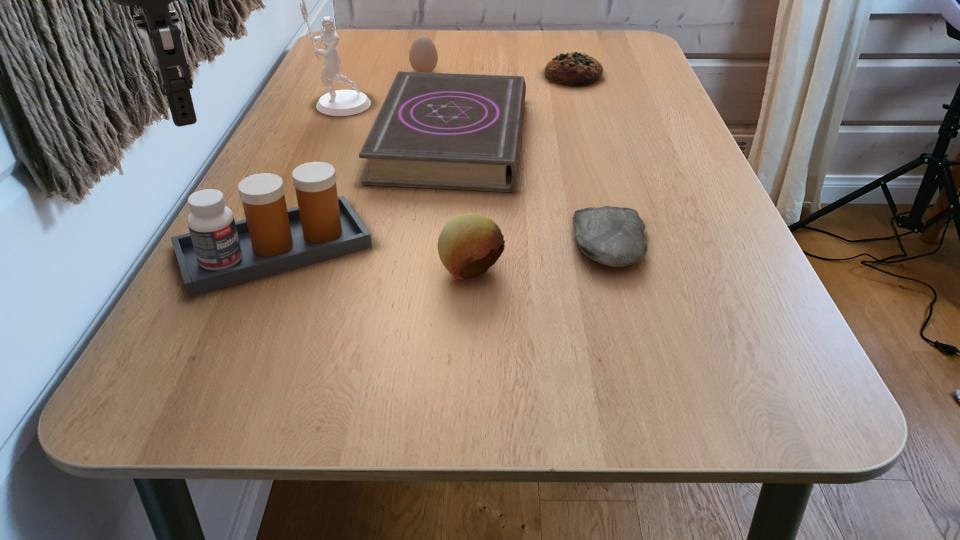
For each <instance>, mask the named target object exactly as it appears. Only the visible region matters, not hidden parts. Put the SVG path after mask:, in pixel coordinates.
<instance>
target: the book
mask: <svg viewBox="0 0 960 540" xmlns="http://www.w3.org/2000/svg"><path fill="white" fill-rule="evenodd" d="M526 93H527V83H526V80H525V77H524V76H522V75H503V74H501V75H500V74H499V75H498V74H475V73H473V74H472V73H451V72H450V73H448V72H431V73H427V72H416V71H401V70H400V71H399V70H398V71H397V72H396V75H395V76H394V79H393V81H392V83H391V85H390V87H389V90H388V92H387V94H386V96H385V98H384V100H383V102H382V105H381V107H380V109H379V111H378V113H377V115H376V117H375V120H374V121H373V123H372V126H371V128H370V130H369V133H368V134H367V136H366V139H365V141H364V143H363V144H362V147H361V149H360V151H359V154H358V159H366V160H367V162H368V166H367V168H366V171H365V173H364V175H363V178H362V180H361V185H362V186H380V187H402V188H417V189H418V188H419V189H420V188H421V189H439V190H441V189H442V190H457V191H458V190H461V191H478V192H480V191H481V192H497V193H499V192H501V193H514V191H515V189H516V185H517V181H518V173H519V172H518V171H519V163H520V154H521V153H520V152H521V144H522V134H523V123H524V115H525V106H526V105H525V104H526V95H527V94H526Z"/></svg>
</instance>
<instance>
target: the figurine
mask: <svg viewBox="0 0 960 540" xmlns="http://www.w3.org/2000/svg"><path fill="white" fill-rule="evenodd" d="M299 7H300V12H301V16H302V19H303V21H304V23H306V25H307V29H308V31H309V35H310V36H309V37H310V40H311V42H312V46H313V48H314V54H315V57H316V59H317V60H318V61H319V60H320V56H322V57H324V58H323V69H322V71H321V73H320V80H321V83H322V85H323V86H325V88H326V90H327V91H328V92H326V93H324V94H323V95H321V96H320V98H319V99H318V101H317V103H316V105H315V107H316V110H317V111H318V112H319V113H321V114H323V115H327V116H332V117H348V116H353V115H358V114H360V113H363V112H365V111H367V110H368V109H369V108H370V107H371V105H372V101H371V99H370V98H369V97H368V96H367V95H366V94H365V93H364V92H362V91H360V89H359V86H358V83H357V82H355V81H354V80H350V79H349V77H348V76H345V75H343V74H340V65H341V58H340V56H339V52H338V49H337V47H338V43H339V41H340V36H339V34H338V32H337V31H336V28H335V27H336V26H335V19H334V18H332V17H331V16H330V15H328V16H327V15H325V16H323V19H322V18H321V20H320V21H321V26H322V27H321V30H320V35H318V36H314V34H313V32H312V29H311V26H310V22H309V19H308V17H309V13H308V8H307V4H306V1H305V0H301V2H300V3H299ZM321 42H322V44H323V45H324V46H325V47H324V49H322V48H317V47H316V43H321ZM334 82H339V83H342V84H344V85H349V86H350V88H352V89H336V90H335V88H334Z"/></svg>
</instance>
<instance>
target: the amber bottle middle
mask: <svg viewBox="0 0 960 540" xmlns="http://www.w3.org/2000/svg"><path fill="white" fill-rule="evenodd" d="M237 189H238V194H239V198H240V200H241V203H242V207H243V211H244V217H245V219H246V221H247V226H248V230H249V235H250V239H251V244H252V248H253V251H254V252H255V253H256V254H257V255H260V256H264V257H273V256H277V255H281V254H284V253H286V252H287V251H289V250H290V249H291V247H292V245H293V239H292V234H291V228H290V223H289V217H288V212H287V209H288V208H287V202H286V197H285V186H284V180H283V178H282V177H281V176H280V175H277V174H275V173H271V172H261V173H260V172H259V173H254V174H251V175H248V176H246V177H244V178H243V179H241V180H240V181H239V183H238V184H237Z"/></svg>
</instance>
